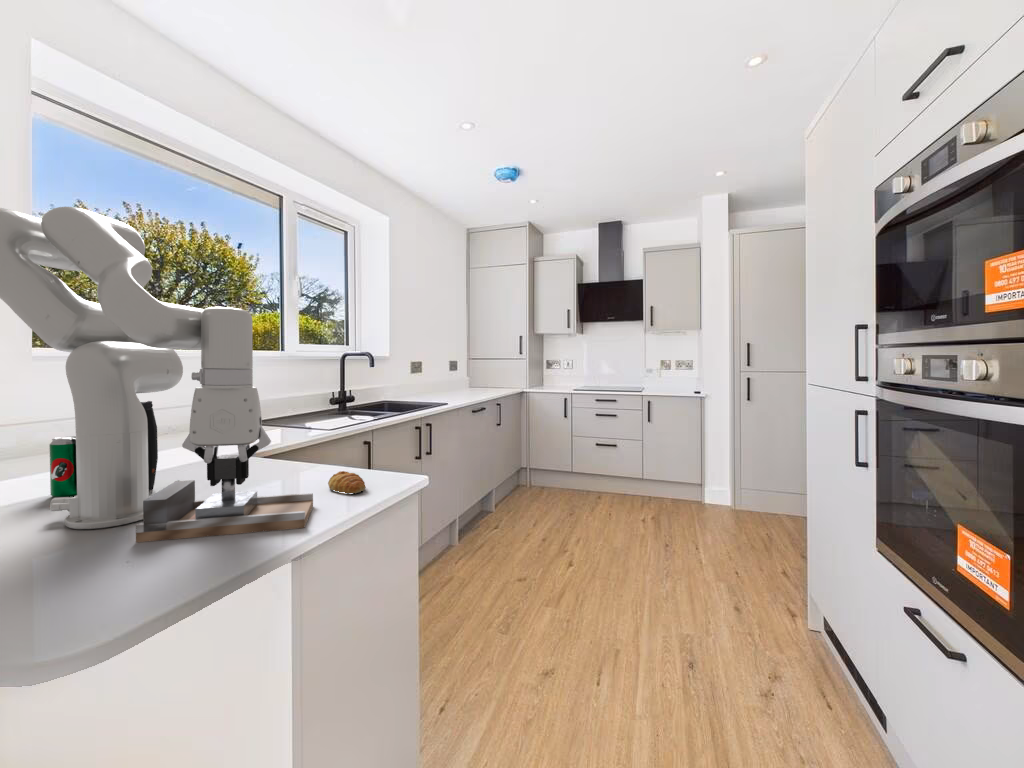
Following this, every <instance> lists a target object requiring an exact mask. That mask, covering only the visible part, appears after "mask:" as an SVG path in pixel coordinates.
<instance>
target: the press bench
mask: <svg viewBox="0 0 1024 768" xmlns="http://www.w3.org/2000/svg"><path fill="white" fill-rule="evenodd" d="M206 500H207V499H197V500H196V480H195V479H194V480H193V479H191V480H189V479H188V480H175V481H174V482H172V483H170V484H169V485H167V486H164V487H163V488H162V489H160V490H159V491H157V492H155V493H153V494H152V495H150V496H149V498H147V499H145V500H144V501H143V519H142V520H143V523H142V522H141V523H137V524H135V543H145V542H153V541H154V542H156V541H167V540H178V539H180V540H182V539H192V538H202V537H203V538H204V537H211V536H212V537H213V536H214V537H215V536H225V535H226V536H227V535H236V534H237V535H238V534H247V533H261V532H272V531H273V532H275V531H283V530H293V529H294V530H296V529H304V528H306V525H307V522H308V519H309V518H310V515H311V513H312V510H313V507H314V492H306V493H305V492H303V493H289V494H277V495H274V494H273V495H263V496H261V495H257V504H256V505H255V507H254V508H253V509H252V510H251V512H250V513H249V514H248V515H245V516H232V517H219V518H206V519H195V509H196V508H197V507H199V506H200V505H201V504H202V503H203V502H204V501H206Z"/></svg>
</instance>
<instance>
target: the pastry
mask: <svg viewBox="0 0 1024 768" xmlns="http://www.w3.org/2000/svg"><path fill="white" fill-rule="evenodd" d="M327 484H328V487H329V489H330V490H331V491H332V490H335V491H339V492H345V493H355V494H357V493H362V492H361V491H363V490H364V491H365V490H366V484H365V480H364V478H362V477H361V476H360V475H359V474H357V473H354V472H348V471H345V470H343V471H341V470H340V471H337V472H336V473H335V474H333V475H332V476H330V478H329V480H328V483H327ZM364 491H363V492H364Z"/></svg>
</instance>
